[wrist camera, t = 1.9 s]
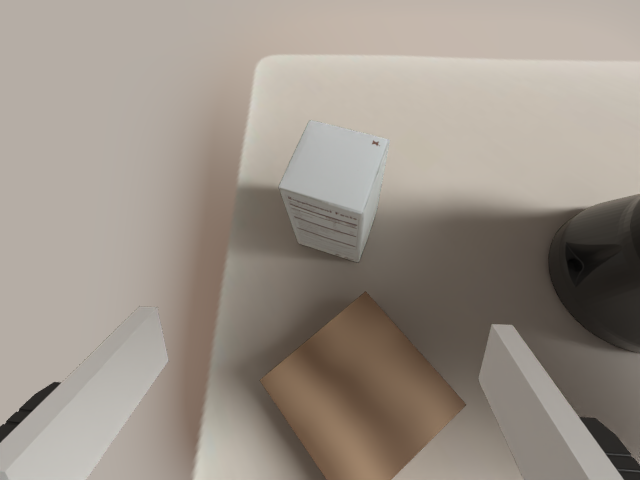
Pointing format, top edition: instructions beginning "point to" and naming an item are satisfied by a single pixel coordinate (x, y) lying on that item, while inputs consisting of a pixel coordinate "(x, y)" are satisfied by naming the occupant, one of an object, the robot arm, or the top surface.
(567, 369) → the top surface
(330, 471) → the walnut block
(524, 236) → the top surface
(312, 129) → the supplement box
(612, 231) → the robot arm
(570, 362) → the top surface
